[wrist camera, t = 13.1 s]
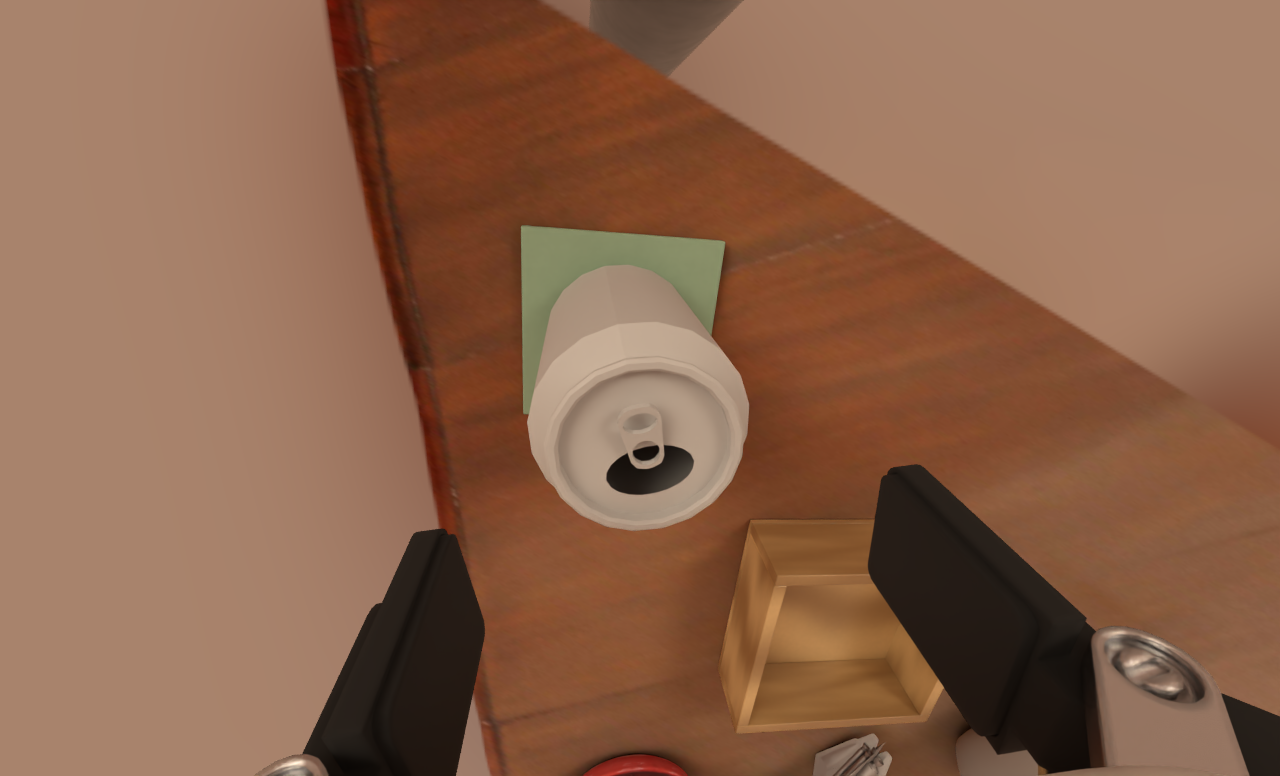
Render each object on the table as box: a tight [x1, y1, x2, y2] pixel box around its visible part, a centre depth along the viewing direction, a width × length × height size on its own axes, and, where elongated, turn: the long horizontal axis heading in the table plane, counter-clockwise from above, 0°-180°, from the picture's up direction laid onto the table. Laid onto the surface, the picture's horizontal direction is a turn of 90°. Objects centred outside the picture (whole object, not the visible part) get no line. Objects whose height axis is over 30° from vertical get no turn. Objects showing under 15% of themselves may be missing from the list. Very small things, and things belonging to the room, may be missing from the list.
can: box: [527, 265, 749, 531], centre depth 20 cm, size 8×8×12 cm
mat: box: [521, 225, 725, 414], centre depth 26 cm, size 10×10×1 cm
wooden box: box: [718, 519, 944, 734], centre depth 34 cm, size 15×15×5 cm
